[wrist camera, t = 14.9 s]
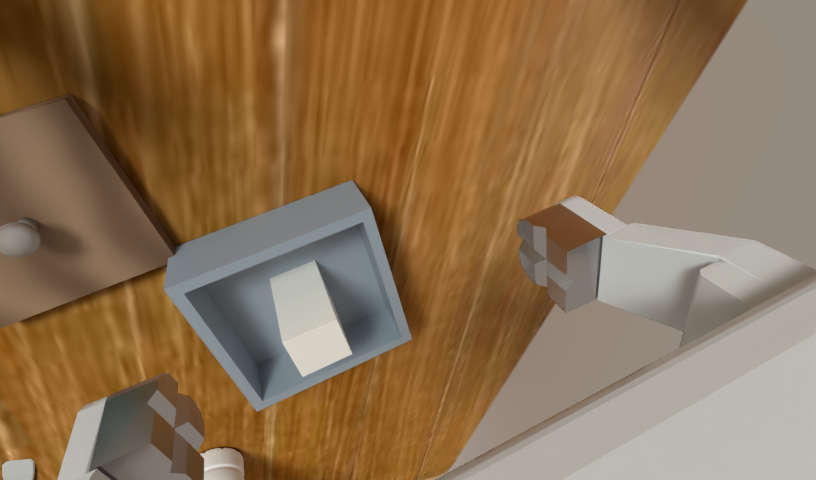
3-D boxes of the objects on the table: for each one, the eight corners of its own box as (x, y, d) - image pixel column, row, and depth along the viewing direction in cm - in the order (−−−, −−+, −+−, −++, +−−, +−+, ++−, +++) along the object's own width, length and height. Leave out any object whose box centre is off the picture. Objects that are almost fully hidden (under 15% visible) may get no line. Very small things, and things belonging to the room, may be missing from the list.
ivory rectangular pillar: (314, 260, 42) (336, 319, 35) (329, 293, 44) (352, 354, 37) (269, 278, 41) (282, 342, 34) (287, 311, 44) (302, 377, 36)
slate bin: (352, 179, 40) (371, 207, 35) (392, 304, 50) (412, 339, 45) (169, 248, 37) (163, 289, 32) (252, 367, 47) (256, 411, 42)
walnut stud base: (70, 93, 29) (49, 112, 25) (178, 251, 37) (174, 283, 33) (-168, 164, 26) (-232, 197, 22) (5, 317, 35) (-21, 360, 31)
